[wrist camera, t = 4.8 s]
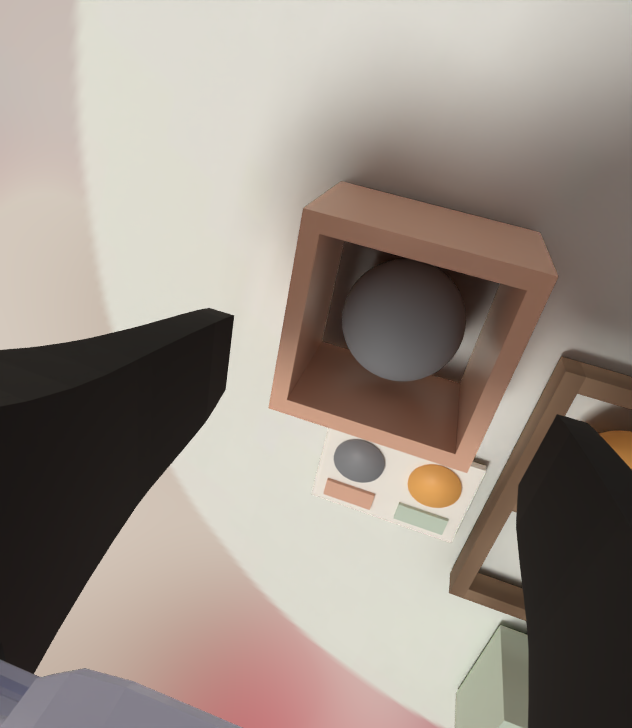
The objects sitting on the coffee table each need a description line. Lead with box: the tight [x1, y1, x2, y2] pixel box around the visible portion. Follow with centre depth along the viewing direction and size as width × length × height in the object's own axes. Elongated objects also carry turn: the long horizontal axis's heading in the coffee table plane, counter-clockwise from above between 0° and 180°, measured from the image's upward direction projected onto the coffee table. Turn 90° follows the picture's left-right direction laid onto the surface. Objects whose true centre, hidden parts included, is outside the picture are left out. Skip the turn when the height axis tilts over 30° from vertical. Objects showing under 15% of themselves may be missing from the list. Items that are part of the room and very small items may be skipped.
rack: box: [449, 356, 632, 621], centre depth 18 cm, size 6×11×1 cm, turn 169°
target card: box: [311, 428, 486, 543], centre depth 20 cm, size 6×4×1 cm, turn 79°
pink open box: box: [269, 181, 559, 473], centre depth 15 cm, size 6×6×4 cm
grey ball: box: [342, 259, 466, 381], centre depth 15 cm, size 4×4×4 cm
